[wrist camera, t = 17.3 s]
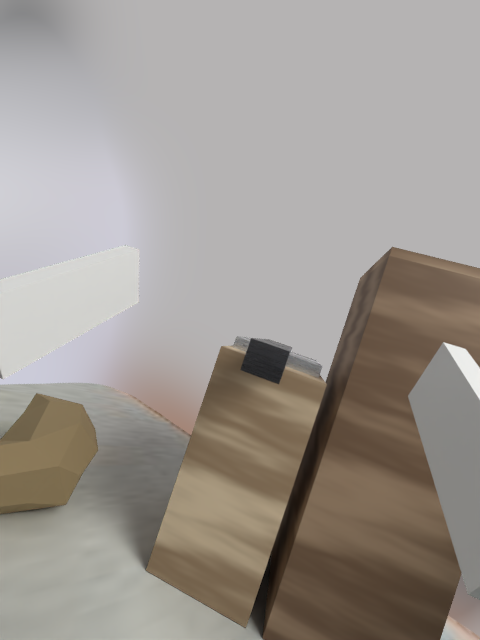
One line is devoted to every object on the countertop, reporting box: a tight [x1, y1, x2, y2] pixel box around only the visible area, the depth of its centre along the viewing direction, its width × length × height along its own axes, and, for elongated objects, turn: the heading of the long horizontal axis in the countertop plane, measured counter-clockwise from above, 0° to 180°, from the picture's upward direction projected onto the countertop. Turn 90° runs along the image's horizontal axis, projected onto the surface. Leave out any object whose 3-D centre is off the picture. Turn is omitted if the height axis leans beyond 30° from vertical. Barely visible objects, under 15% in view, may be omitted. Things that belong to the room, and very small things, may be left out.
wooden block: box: [263, 247, 480, 640], centre depth 28 cm, size 12×12×35 cm
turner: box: [233, 337, 322, 384], centre depth 27 cm, size 21×9×2 cm, turn 168°
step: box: [146, 346, 327, 628], centre depth 31 cm, size 12×10×22 cm
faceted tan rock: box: [0, 393, 98, 514], centre depth 29 cm, size 15×11×12 cm
